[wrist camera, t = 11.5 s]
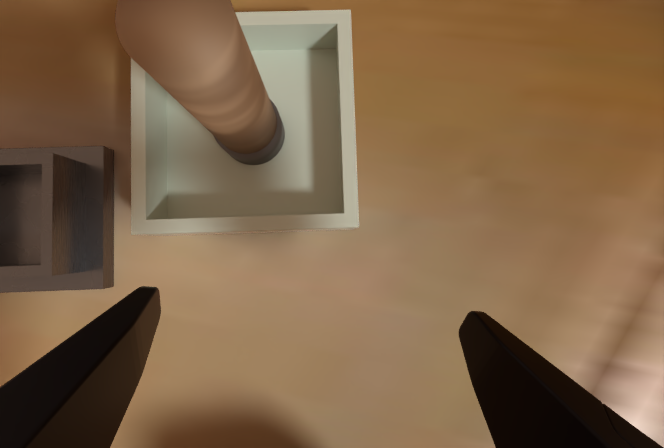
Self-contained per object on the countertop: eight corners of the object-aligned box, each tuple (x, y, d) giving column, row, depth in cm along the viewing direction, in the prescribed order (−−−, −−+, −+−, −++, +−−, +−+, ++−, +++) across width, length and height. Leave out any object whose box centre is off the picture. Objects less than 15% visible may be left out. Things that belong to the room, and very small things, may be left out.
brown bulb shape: (268, 175, 21) (205, 102, 10) (211, 149, 21) (85, 48, 10) (295, 119, 21) (261, -12, 10) (238, 93, 21) (144, -65, 10)
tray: (353, 229, 22) (359, 227, 18) (162, 235, 22) (131, 234, 18) (347, 45, 23) (350, 9, 19) (161, 50, 22) (130, 14, 19)
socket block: (113, 286, 21) (71, 295, 18) (-28, 291, 21) (-98, 301, 18) (113, 150, 22) (72, 132, 18) (-25, 154, 22) (-92, 137, 18)
